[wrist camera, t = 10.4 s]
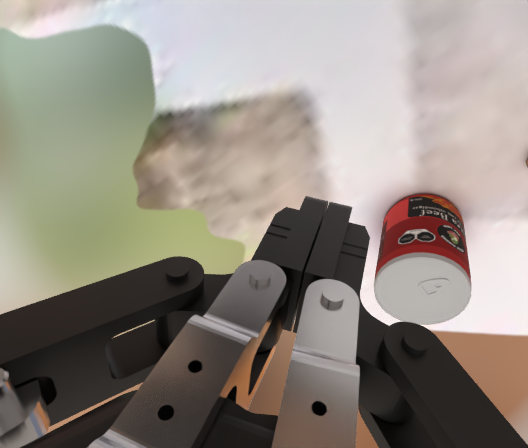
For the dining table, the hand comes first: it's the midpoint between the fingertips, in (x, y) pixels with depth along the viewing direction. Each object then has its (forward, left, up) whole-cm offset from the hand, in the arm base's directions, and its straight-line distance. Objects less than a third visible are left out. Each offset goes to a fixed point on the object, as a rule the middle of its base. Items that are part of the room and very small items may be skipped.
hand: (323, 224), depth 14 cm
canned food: (+17, +8, -29) cm, 35 cm away
